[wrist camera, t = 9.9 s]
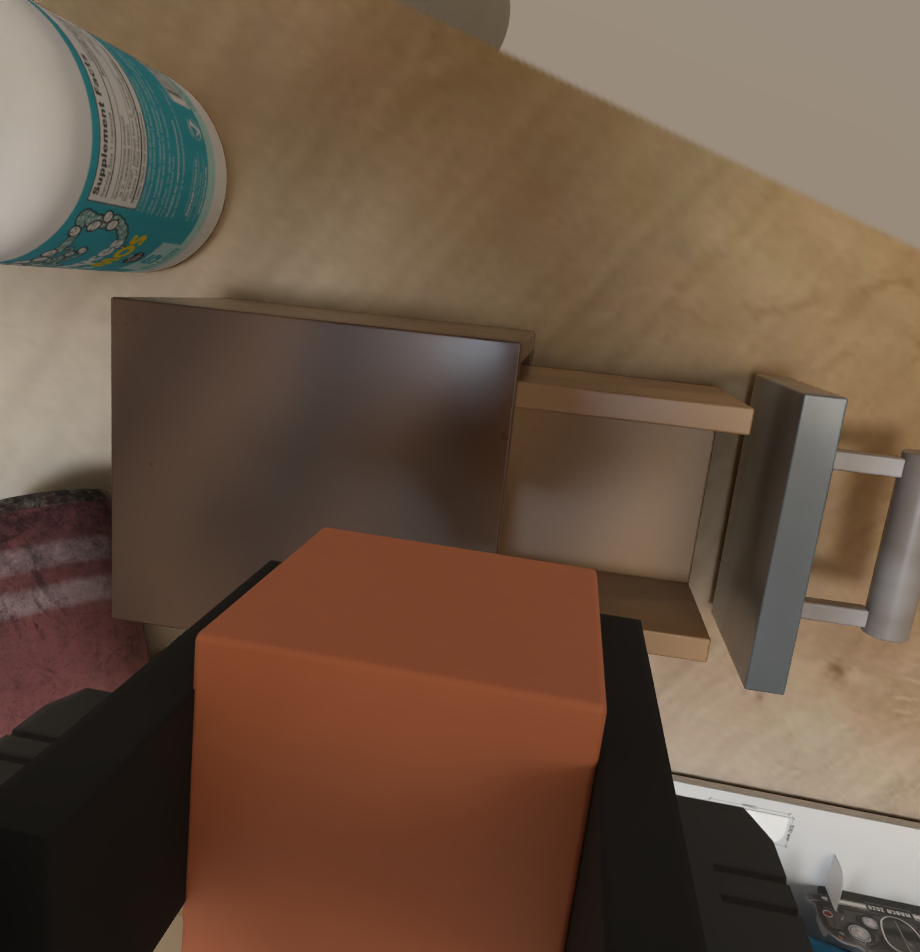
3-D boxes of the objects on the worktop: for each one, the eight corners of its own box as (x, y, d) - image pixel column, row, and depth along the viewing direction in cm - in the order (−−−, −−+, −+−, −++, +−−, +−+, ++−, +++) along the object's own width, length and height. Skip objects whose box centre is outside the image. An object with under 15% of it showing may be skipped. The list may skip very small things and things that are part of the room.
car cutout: (990, 836, 31) (1058, 924, 27) (945, 973, 33) (1002, 1076, 28) (612, 762, 33) (617, 833, 28) (586, 895, 34) (587, 981, 30)
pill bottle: (56, 263, 32) (-307, 236, 19) (55, 64, 30) (-345, -119, 17) (232, 284, 31) (-20, 272, 18) (241, 81, 29) (-30, -98, 16)
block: (322, 525, 13) (192, 634, 8) (598, 568, 12) (608, 707, 8) (303, 767, 14) (177, 977, 9) (557, 817, 13) (547, 1063, 9)
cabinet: (535, 331, 30) (522, 342, 22) (504, 588, 32) (482, 678, 24) (224, 298, 31) (110, 296, 23) (217, 545, 33) (111, 618, 26)
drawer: (911, 391, 27) (1005, 416, 21) (854, 633, 29) (925, 718, 23) (473, 342, 29) (447, 352, 23) (450, 574, 31) (420, 638, 25)
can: (140, 478, 31) (212, 840, 29) (90, 509, 35) (150, 823, 34) (-40, 498, 26) (34, 920, 25) (-69, 531, 31) (-8, 889, 30)
